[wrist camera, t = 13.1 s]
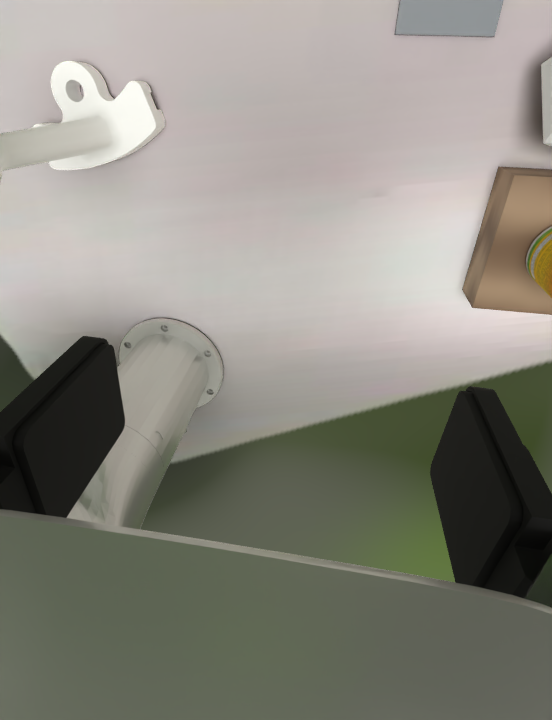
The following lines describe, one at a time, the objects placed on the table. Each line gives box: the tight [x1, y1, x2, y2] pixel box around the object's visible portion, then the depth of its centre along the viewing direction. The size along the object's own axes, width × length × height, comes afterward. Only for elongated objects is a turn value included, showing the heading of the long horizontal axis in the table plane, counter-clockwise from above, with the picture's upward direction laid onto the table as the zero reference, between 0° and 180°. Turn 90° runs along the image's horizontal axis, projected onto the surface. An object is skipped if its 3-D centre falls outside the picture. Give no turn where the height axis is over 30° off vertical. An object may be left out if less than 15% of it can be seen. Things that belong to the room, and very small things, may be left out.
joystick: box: [0, 61, 165, 183], centre depth 29 cm, size 11×8×20 cm
